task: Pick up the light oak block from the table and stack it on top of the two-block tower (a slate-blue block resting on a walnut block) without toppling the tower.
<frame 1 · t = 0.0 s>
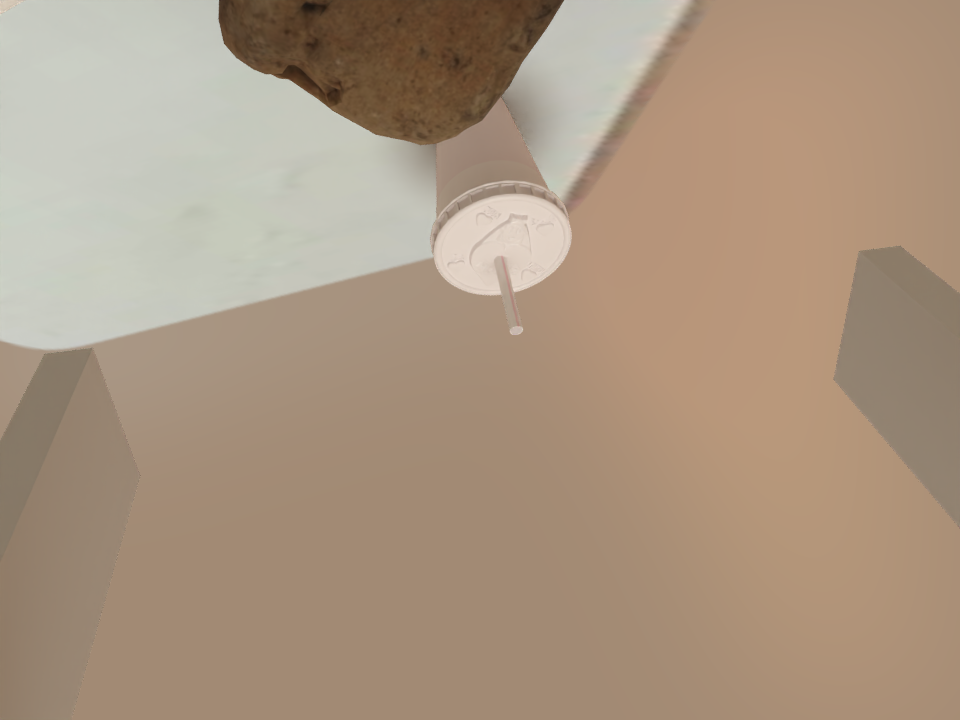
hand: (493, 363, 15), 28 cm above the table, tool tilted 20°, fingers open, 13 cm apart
smoothie: (471, 114, 45), on the table
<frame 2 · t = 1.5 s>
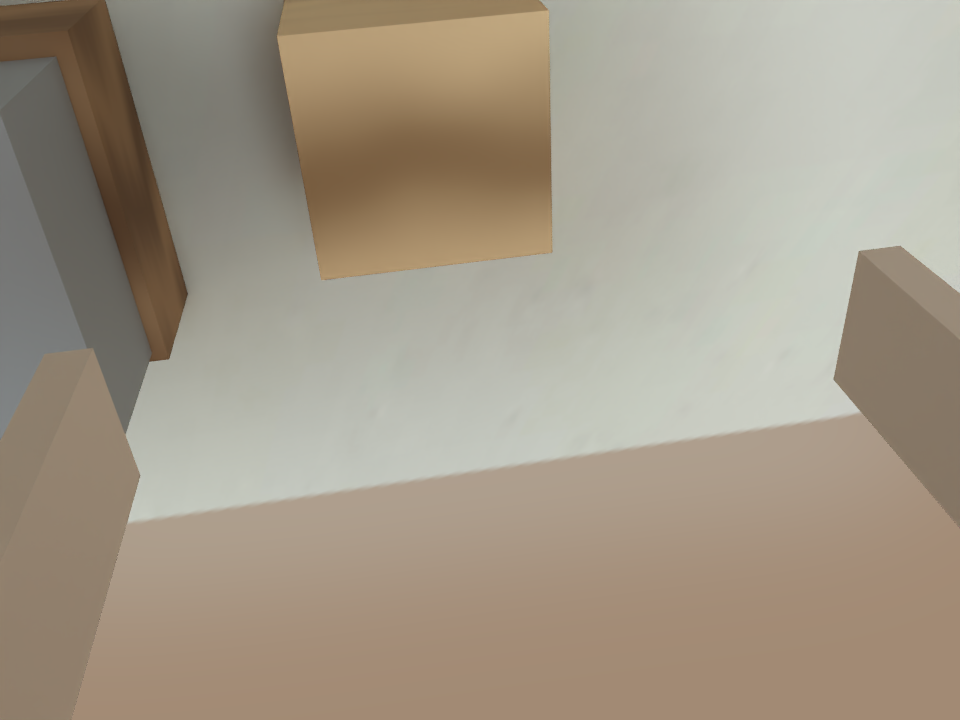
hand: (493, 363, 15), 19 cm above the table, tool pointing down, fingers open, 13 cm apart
oak block: (406, 75, 31), on the table
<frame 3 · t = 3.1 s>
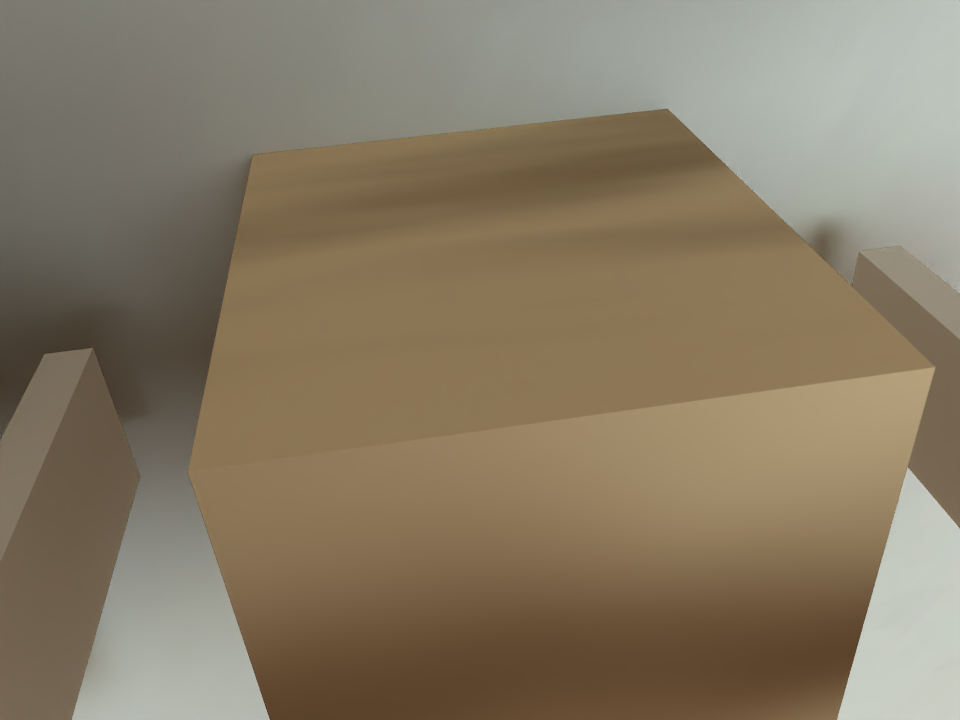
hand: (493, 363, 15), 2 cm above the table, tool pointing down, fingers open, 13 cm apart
oak block: (477, 309, 17), on the table
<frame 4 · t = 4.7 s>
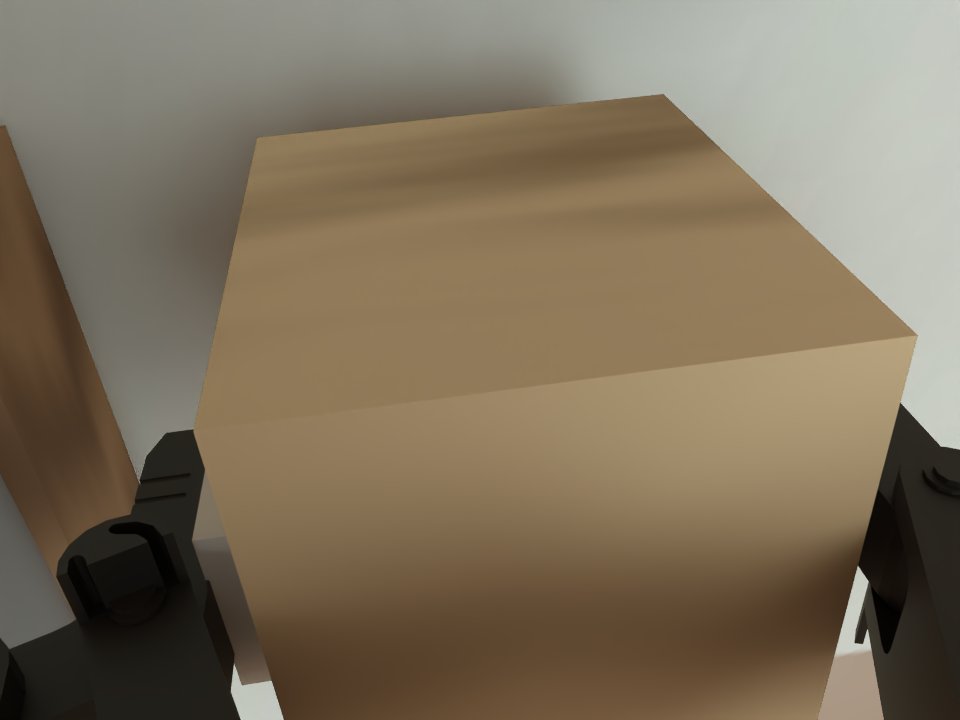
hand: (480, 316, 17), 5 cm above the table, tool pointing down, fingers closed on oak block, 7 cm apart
oak block: (477, 293, 17), point 5 cm above the table, touching gripper
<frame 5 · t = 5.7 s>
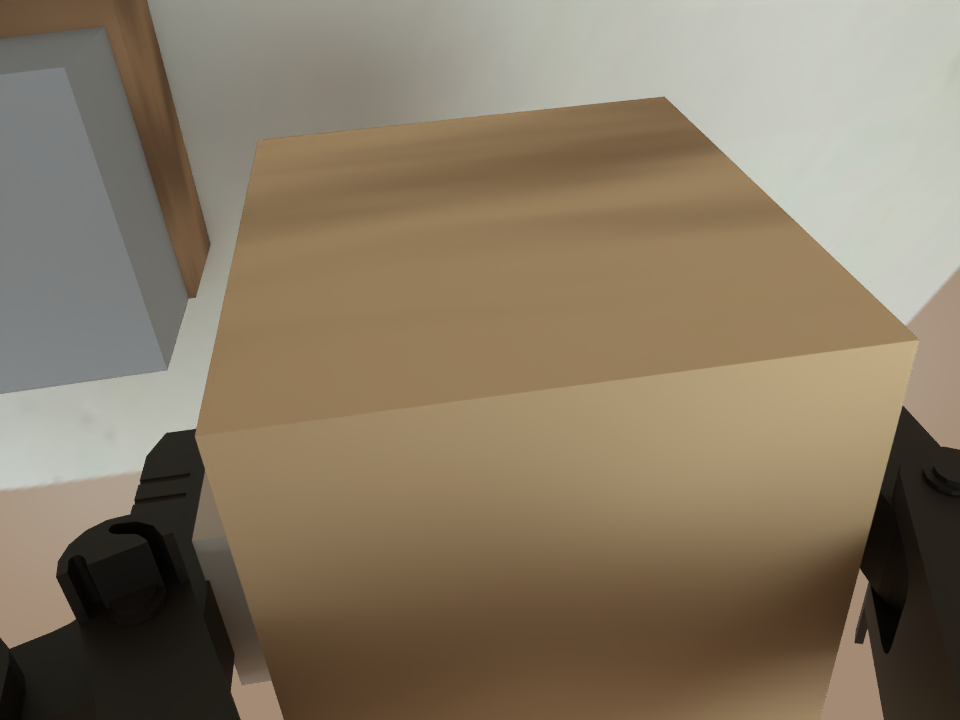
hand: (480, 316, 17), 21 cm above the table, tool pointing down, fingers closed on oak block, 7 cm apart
tower base: (35, 130, 34), on the table, touching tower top
oak block: (478, 295, 17), point 21 cm above the table, touching gripper
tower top: (4, 192, 30), point 5 cm above the table, touching tower base
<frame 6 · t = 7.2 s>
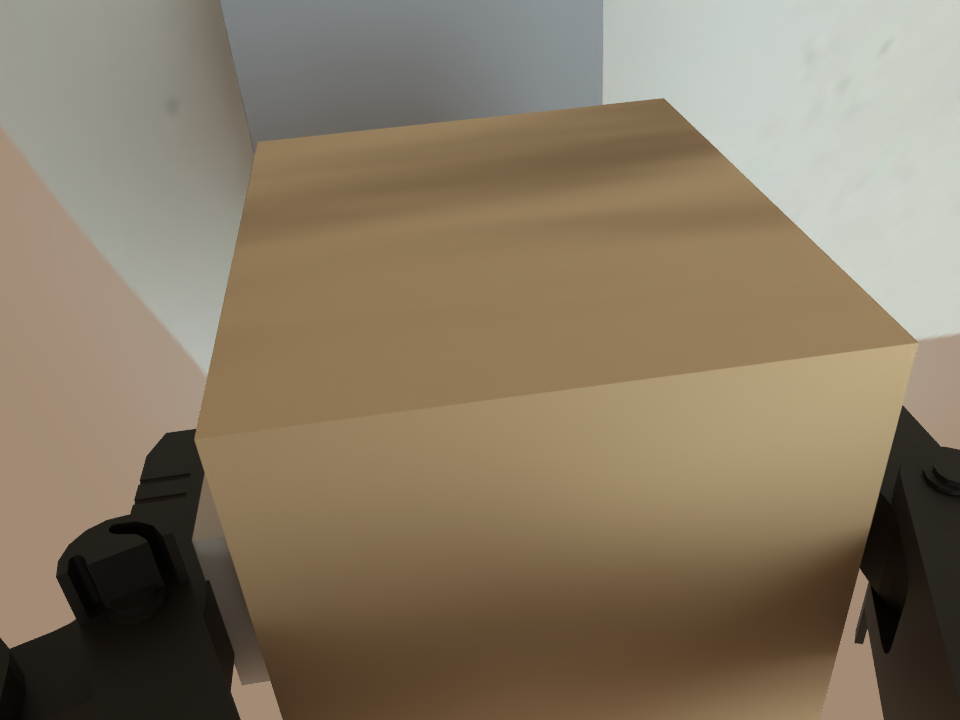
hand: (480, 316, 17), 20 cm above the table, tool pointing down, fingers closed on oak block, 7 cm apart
oak block: (477, 297, 17), point 19 cm above the table, touching gripper
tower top: (417, 84, 29), point 5 cm above the table, touching tower base
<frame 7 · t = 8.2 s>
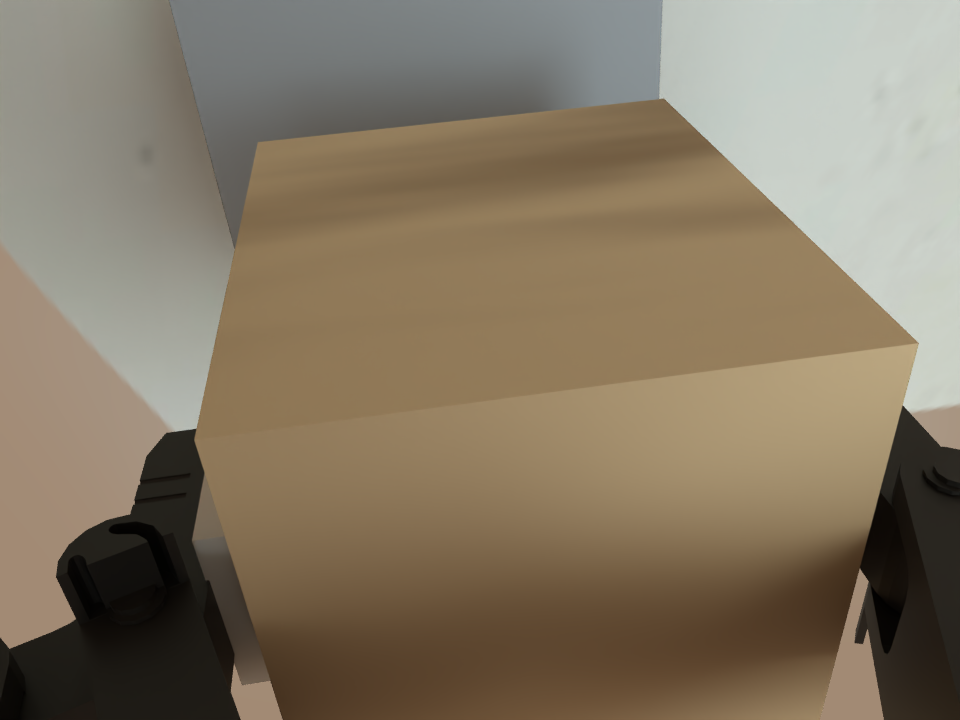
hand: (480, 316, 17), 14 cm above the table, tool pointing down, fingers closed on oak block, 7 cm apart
oak block: (477, 297, 17), point 14 cm above the table, touching gripper
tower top: (427, 128, 24), point 5 cm above the table
when the fingers open (10 cm above the table, at t = 9.5 s): oak block stays where it is, resting on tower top.
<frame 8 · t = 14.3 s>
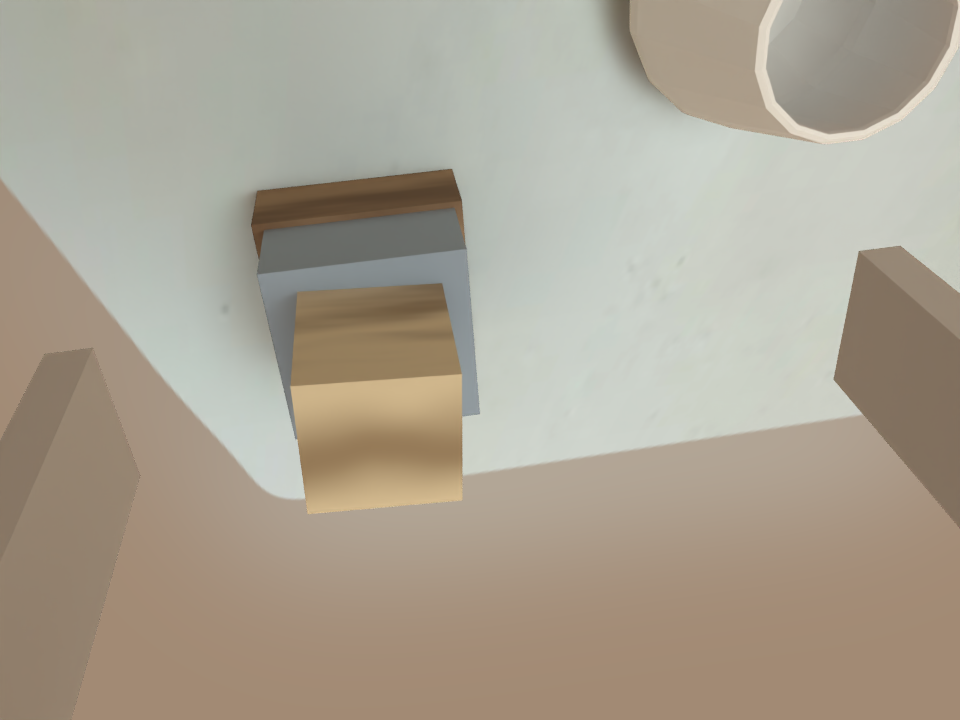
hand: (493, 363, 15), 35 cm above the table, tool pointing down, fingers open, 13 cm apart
tower base: (368, 263, 53), on the table, touching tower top
oak block: (374, 348, 44), point 10 cm above the table, touching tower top
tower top: (372, 301, 48), point 5 cm above the table, touching oak block, tower base
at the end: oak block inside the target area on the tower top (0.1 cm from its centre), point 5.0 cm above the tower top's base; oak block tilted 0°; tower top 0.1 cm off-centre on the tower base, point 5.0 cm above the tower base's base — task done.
